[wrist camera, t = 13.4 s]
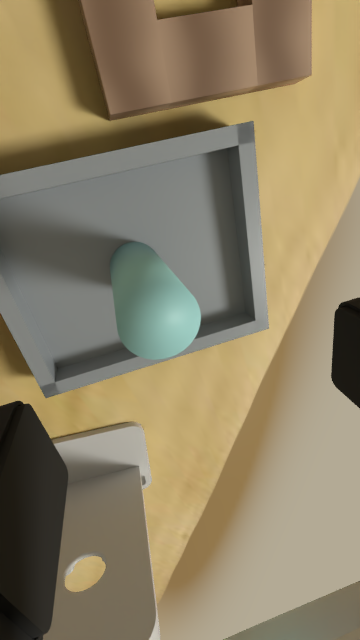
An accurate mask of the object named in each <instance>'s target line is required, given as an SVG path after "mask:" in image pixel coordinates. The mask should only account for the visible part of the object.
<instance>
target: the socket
mask: <svg viewBox="0 0 360 640" xmlns="http://www.w3.org/2000/svg"><path fill="white" fill-rule="evenodd" d="M78 1H79V5H80V9H81V13H82V17H83V21H84V24H85V28H86V32H87V36H88V40H89V44H90V47H91V51H92V55H93V59H94V63H95V67H96V70H97V74H98V78H99V82H100V86H101V90H102V94H103V97H104V101H105V105H106V109H107V113H108V117H109V120H110V121H112V120H117V119H122V118H127V117H132V116H137V115H142V114H147V113H152V112H157V111H162V110H167V109H172V108H177V107H181V106H186V105H191V104H196V103H201V102H206V101H211V100H216V99H221V98H226V97H231V96H236V95H241V94H246V93H251V92H256V91H261V90H266V89H271V88H276V87H281V86H286V85H291V84H295V83H297V82H299V81H301V80H303V79H305V78H307V77H309V76H310V75H312V0H237V5H238V7H234V8H228V9H222V10H216V11H209V12H203V13H197V14H191V15H184V16H178V17H172V18H166V19H159V20H157V16H156V10H155V5H154V0H78Z"/></svg>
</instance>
